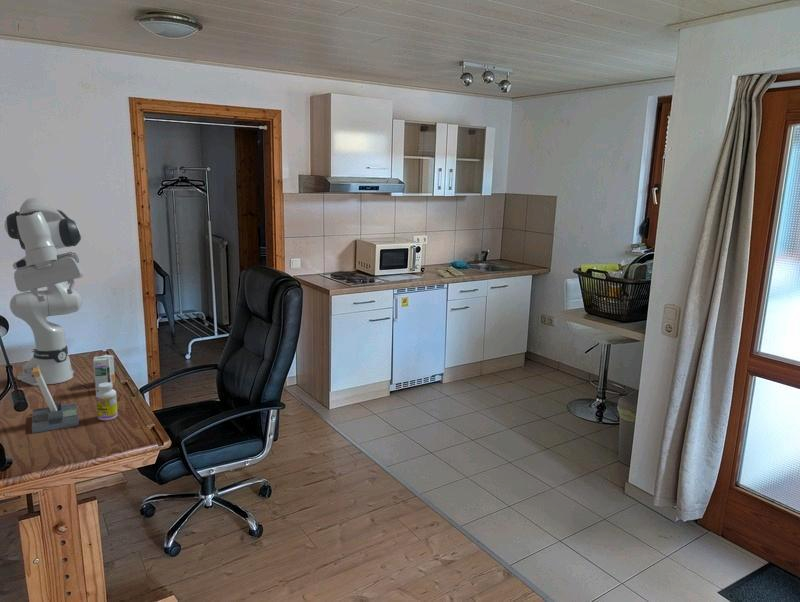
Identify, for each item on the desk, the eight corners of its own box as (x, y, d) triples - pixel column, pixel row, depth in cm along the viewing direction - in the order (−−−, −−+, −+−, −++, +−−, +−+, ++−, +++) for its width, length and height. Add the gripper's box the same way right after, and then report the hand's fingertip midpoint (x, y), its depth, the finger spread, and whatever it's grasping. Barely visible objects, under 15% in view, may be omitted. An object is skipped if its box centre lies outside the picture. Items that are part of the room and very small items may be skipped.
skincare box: (106, 386, 241) (103, 359, 239) (97, 385, 242) (94, 358, 240) (115, 381, 247) (113, 355, 245) (107, 380, 248) (105, 354, 245)
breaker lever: (53, 419, 203) (32, 373, 197) (52, 412, 209) (32, 367, 203) (58, 416, 204) (38, 371, 198) (58, 410, 210) (38, 365, 204)
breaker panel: (32, 433, 197) (30, 419, 196) (33, 416, 210) (31, 403, 209) (79, 425, 204) (77, 411, 203) (76, 409, 217) (75, 396, 216)
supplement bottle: (93, 419, 209) (90, 385, 207) (108, 412, 215) (106, 380, 213) (107, 422, 207) (104, 388, 204) (122, 415, 213) (119, 383, 210)
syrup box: (95, 394, 232) (92, 360, 229) (96, 389, 238) (94, 356, 235) (111, 392, 235) (108, 358, 232) (112, 387, 240) (109, 354, 237)
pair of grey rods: (33, 415, 211) (32, 410, 211) (33, 411, 214) (32, 407, 213) (76, 408, 218) (76, 404, 218) (76, 405, 221) (75, 401, 221)
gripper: (78, 250, 198) (91, 289, 200) (15, 266, 194) (28, 305, 196) (72, 249, 192) (85, 289, 194) (7, 265, 188) (20, 306, 190)
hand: (56, 297), depth 195 cm, fingers open, 8 cm apart
